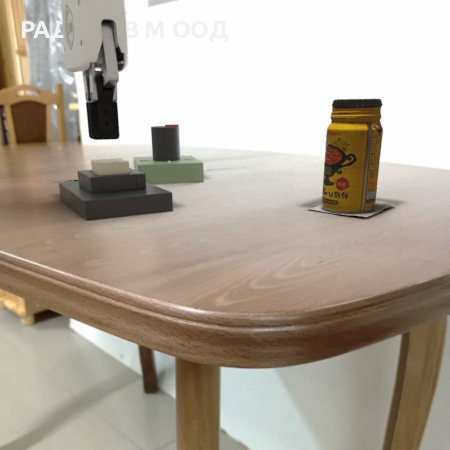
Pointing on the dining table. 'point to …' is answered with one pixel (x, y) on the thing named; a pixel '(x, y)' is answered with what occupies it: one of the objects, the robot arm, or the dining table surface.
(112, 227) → the dining table surface
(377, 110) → the condiment
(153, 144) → the volume knob
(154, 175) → the panel
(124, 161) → the white key
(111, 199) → the tiered dark pedestal
